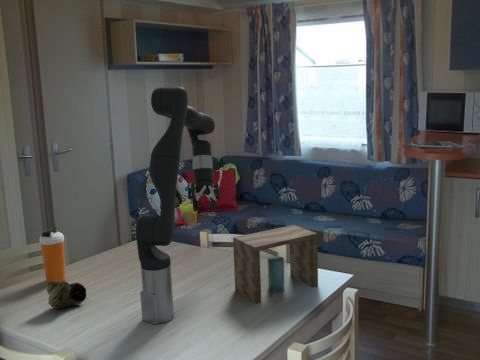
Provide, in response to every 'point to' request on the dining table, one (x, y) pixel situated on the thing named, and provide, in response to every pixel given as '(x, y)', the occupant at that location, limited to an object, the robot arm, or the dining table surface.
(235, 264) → the wooden bench stool
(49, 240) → the shaker bottle
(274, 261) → the teal upright cylinder
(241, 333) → the dining table surface
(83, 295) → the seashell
